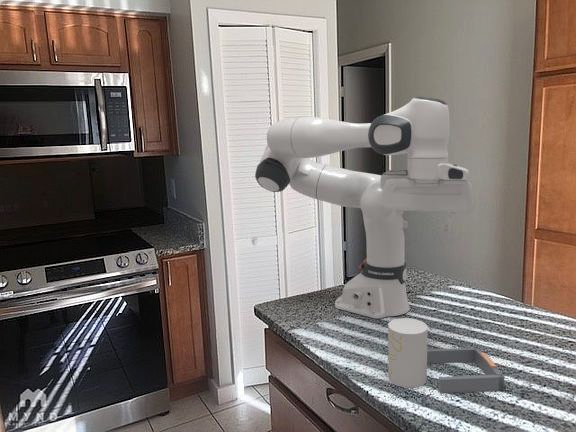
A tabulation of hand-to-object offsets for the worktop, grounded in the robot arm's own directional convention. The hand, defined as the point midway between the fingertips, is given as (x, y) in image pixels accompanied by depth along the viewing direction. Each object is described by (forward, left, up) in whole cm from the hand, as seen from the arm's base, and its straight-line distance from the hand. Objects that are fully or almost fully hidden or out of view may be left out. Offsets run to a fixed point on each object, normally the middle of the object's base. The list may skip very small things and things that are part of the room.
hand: (425, 230), depth 106 cm
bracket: (+9, -8, -30) cm, 32 cm away
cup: (0, -14, -30) cm, 33 cm away
